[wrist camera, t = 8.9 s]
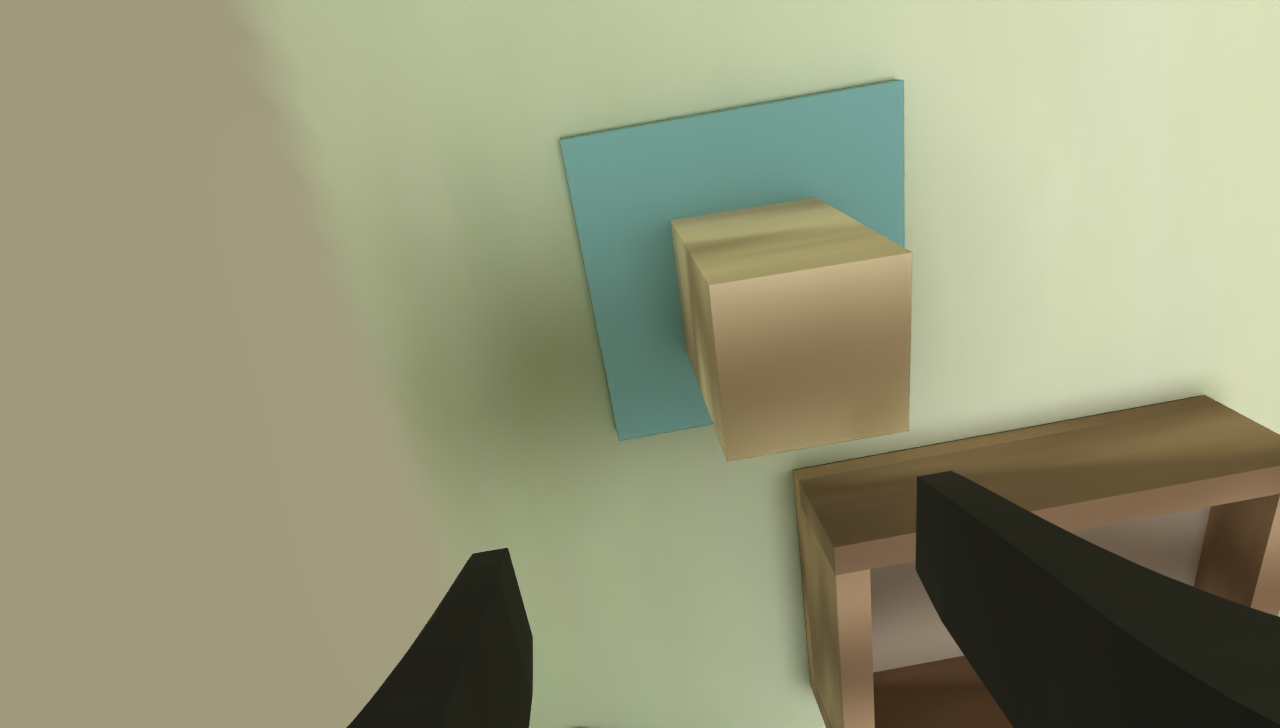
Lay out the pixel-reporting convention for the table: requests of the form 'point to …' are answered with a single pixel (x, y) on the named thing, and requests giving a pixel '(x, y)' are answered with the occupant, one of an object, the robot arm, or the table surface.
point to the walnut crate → (1050, 488)
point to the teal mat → (705, 184)
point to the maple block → (795, 325)
